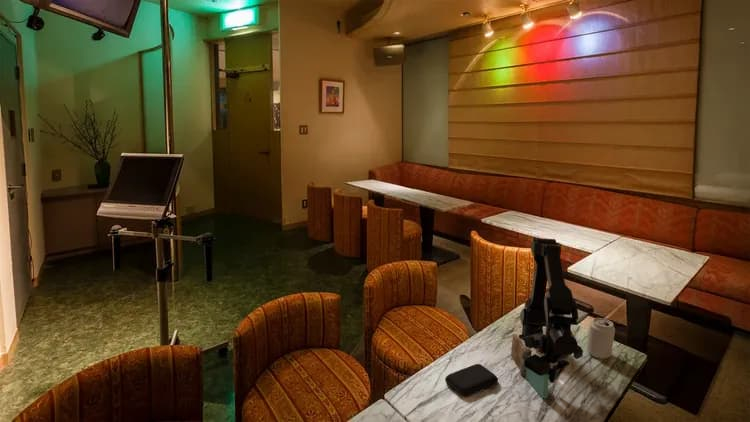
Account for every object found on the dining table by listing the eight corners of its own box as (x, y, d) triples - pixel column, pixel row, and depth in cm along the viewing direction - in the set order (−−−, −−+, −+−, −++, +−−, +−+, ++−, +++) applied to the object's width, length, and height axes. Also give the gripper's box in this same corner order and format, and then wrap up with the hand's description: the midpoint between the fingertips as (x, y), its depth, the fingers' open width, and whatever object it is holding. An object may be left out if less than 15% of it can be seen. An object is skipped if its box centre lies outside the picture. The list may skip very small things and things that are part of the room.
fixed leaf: (530, 377, 137) (533, 352, 134) (522, 377, 136) (524, 353, 134) (516, 355, 148) (518, 332, 146) (508, 355, 148) (510, 332, 146)
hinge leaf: (519, 372, 139) (521, 350, 137) (526, 371, 139) (528, 349, 137) (540, 398, 126) (543, 375, 125) (548, 397, 127) (551, 374, 125)
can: (613, 361, 145) (619, 328, 142) (589, 358, 147) (594, 326, 144) (607, 349, 152) (611, 317, 149) (583, 346, 154) (588, 315, 151)
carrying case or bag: (465, 403, 126) (503, 386, 133) (466, 393, 125) (504, 378, 132) (442, 382, 135) (478, 368, 142) (442, 374, 134) (479, 360, 141)
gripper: (554, 315, 137) (549, 359, 141) (511, 331, 128) (508, 378, 132) (586, 330, 128) (581, 377, 132) (542, 349, 119) (538, 399, 123)
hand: (551, 382), depth 130 cm, fingers closed
